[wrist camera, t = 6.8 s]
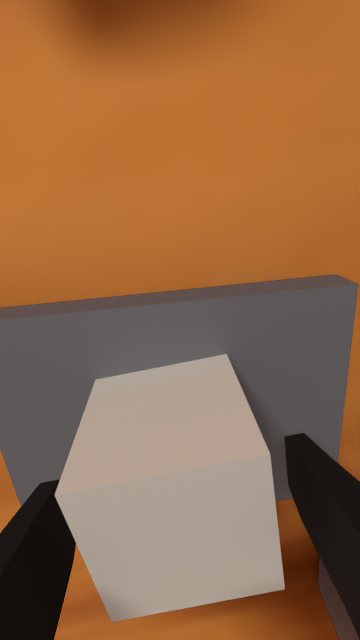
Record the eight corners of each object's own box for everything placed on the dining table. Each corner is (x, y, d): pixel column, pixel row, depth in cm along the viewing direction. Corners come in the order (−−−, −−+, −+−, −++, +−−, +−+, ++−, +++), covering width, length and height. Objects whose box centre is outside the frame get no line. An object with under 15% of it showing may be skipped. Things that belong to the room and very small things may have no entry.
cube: (226, 354, 12) (270, 453, 7) (242, 456, 14) (285, 589, 9) (95, 379, 12) (54, 495, 7) (127, 478, 14) (111, 622, 9)
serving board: (335, 274, 13) (358, 283, 11) (318, 468, 16) (333, 493, 15) (-22, 310, 12) (-45, 324, 11) (41, 500, 16) (29, 529, 14)
